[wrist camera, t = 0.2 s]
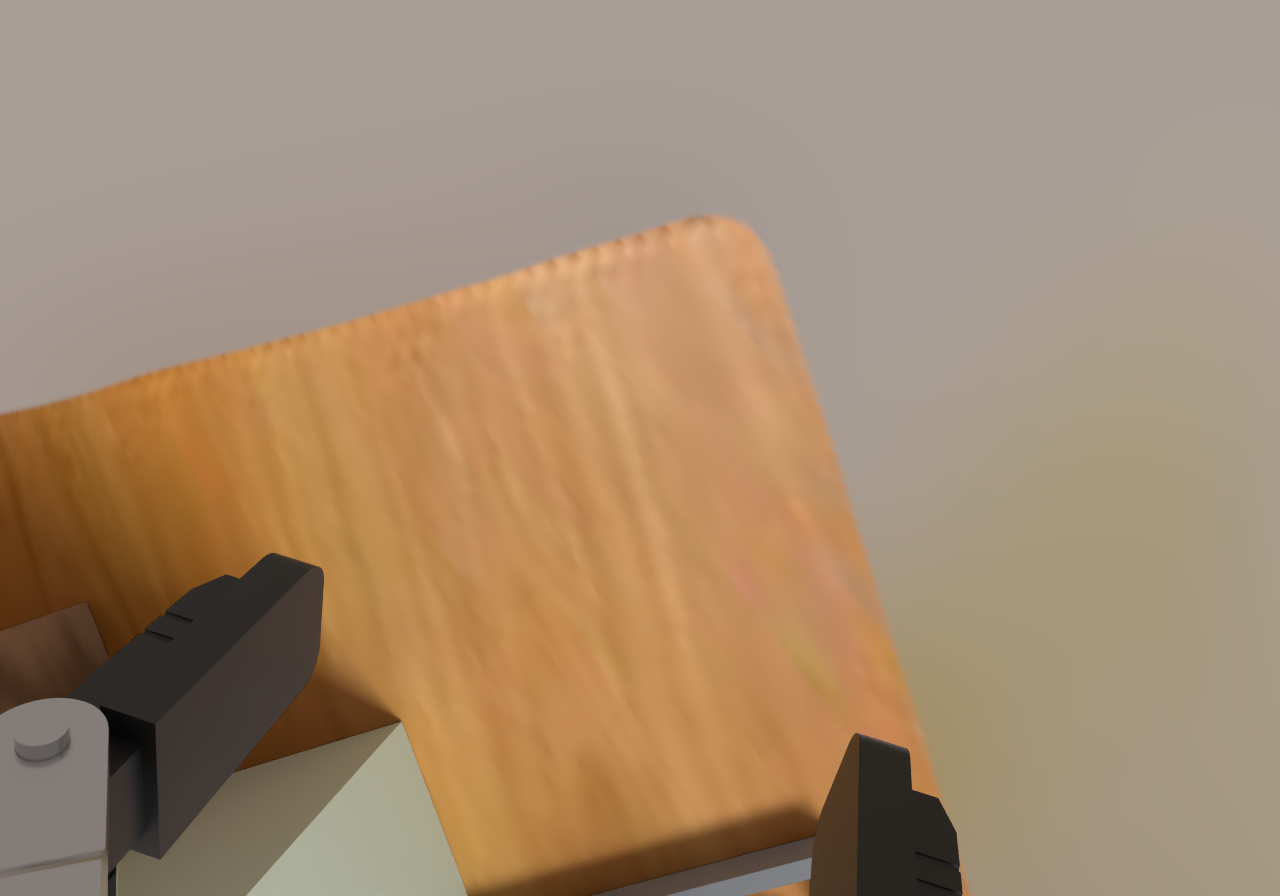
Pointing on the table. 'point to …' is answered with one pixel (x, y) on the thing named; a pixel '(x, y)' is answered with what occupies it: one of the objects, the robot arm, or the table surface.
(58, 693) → the walnut stand
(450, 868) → the pale green tall block
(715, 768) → the table surface
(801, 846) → the pen tray
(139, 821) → the robot arm
